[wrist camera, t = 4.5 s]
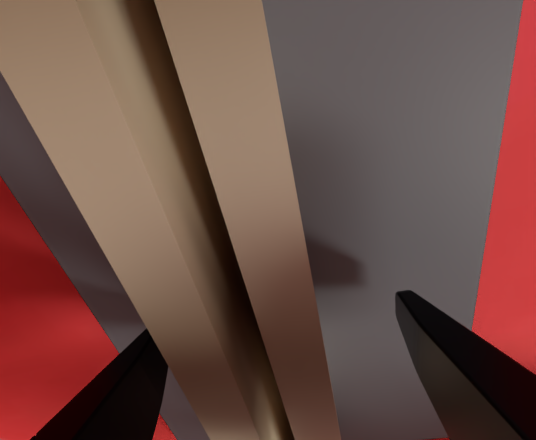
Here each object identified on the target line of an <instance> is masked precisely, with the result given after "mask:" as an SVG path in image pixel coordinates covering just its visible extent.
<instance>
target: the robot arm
mask: <svg viewBox="0 0 536 440" xmlns="http://www.w3.org/2000/svg"><path fill="white" fill-rule="evenodd" d="M395 313H396V318H397V321H398V324H399V327H400V329H401V332H402V335H403V338H404V340H405V343H406V346H407V348H408V351H409V354H410V357H411V359H412V362H413V365H414V367H415V370H416V372H417V374H418V376H419V379H420V381H421V383H422V385H423V387H424V389H425V391H426V393H427V395H428V397H429V399H430V401H431V403H432V405H433V407H434V409H435V411H436V413H437V415H438V417H439V419H440V421H441V423H442V425H443V427H444V429H445V431H446V433H447V435H448V437H449V439H450V440H536V375H535V374H534V373H532V372H531V371H529V370H528V369H526V368H525V367H524V366H522V365H521V364H519V363H518V362H516V361H515V360H513V359H512V358H510V357H509V356H507V355H506V354H504V353H503V352H502V351H500V350H499V349H497V348H496V347H494V346H493V345H491V344H490V343H488V342H487V341H485V340H484V339H482V338H481V337H480V336H478V335H477V334H475V333H474V332H472V331H471V330H469V329H468V328H466V327H465V326H463V325H462V324H460V323H459V322H458V321H456V320H455V319H453V318H452V317H450V316H449V315H447V314H446V313H444V312H443V311H441V310H440V309H438V308H437V307H436V306H434V305H433V304H431V303H430V302H428V301H427V300H425V299H424V298H422V297H421V296H419V295H418V294H416V293H415V292H414V291H412V290H403V291H397V292H396V294H395ZM167 372H168V364H167V363H166V361H165V359H164V357H163V356H162V354H161V352H160V350H159V349H158V347H157V345H156V343H155V342H154V340H153V338H152V336H151V335H150V333H149V331H148V329H147V328H146V329H145V330H144V331H143V332H142V333H141V334H140V335H139V336H138V337H137V338H136V339H135V340H134V341H133V342H131V343H130V344H129V345H128V346H127V347H126V348H125V349H124V350H123V351H122V352H121V353H120V354H119V355H118V356H117V357H116V358H115V359H114V360H113V361H112V362H111V363H110V364H109V365H107V366H106V367H105V368H104V369H103V370H102V371H101V372H100V373H99V374H98V375H97V376H96V377H95V378H94V379H93V380H92V381H91V382H90V383H89V384H88V385H87V386H86V387H84V388H83V389H82V390H81V391H80V392H79V393H78V394H77V395H76V396H75V397H74V398H73V399H72V400H71V401H70V402H69V403H68V404H67V405H66V406H65V407H64V408H63V409H61V410H60V411H59V412H58V413H57V414H56V415H55V416H54V417H53V418H52V419H51V420H50V421H49V422H48V423H47V424H46V425H45V426H44V427H43V428H42V429H41V430H40V431H38V433H37V434H36V436H33V437H32V438H31V439H30V440H152V439H153V435H154V431H155V427H156V424H157V420H158V416H159V412H160V409H161V405H162V400H163V395H164V390H165V384H166V378H167Z"/></svg>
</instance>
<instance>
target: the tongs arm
mask: <svg viewBox="0 0 536 440" xmlns="http://www.w3.org/2000/svg"><path fill="white" fill-rule="evenodd" d="M0 71H1V73H2V75H3V77H4V78H5V80H6V82H7V84H8V85H9V87H10V89H11V91H12V92H13V94H14V96H15V98H16V99H17V101H18V103H19V105H20V106H21V108H22V110H23V112H24V113H25V115H26V117H27V119H28V121H29V122H30V124H31V126H32V128H33V129H34V131H35V133H36V135H37V136H38V138H39V140H40V142H41V143H42V145H43V147H44V149H45V150H46V152H47V154H48V156H49V157H50V159H51V161H52V163H53V164H54V166H55V168H56V170H57V171H58V173H59V175H60V177H61V178H62V180H63V182H64V184H65V185H66V187H67V189H68V191H69V192H70V194H71V196H72V198H73V199H74V201H75V203H76V205H77V207H78V208H79V210H80V212H81V214H82V215H83V217H84V219H85V221H86V222H87V224H88V226H89V228H90V229H91V231H92V233H93V235H94V236H95V238H96V240H97V242H98V243H99V245H100V247H101V249H102V250H103V252H104V254H105V256H106V257H107V259H108V261H109V263H110V264H111V266H112V268H113V270H114V271H115V273H116V275H117V277H118V278H119V280H120V282H121V284H122V285H123V287H124V289H125V291H126V293H127V294H128V296H129V298H130V300H131V301H132V303H133V305H134V307H135V308H136V310H137V312H138V314H139V315H140V317H141V319H142V321H143V322H144V324H145V326H146V328H147V329H148V331H149V333H150V335H151V336H152V338H153V340H154V342H155V343H156V345H157V347H158V349H159V350H160V352H161V354H162V356H163V357H164V359H165V361H166V363H167V364H168V366H169V368H170V370H171V371H172V373H173V375H174V377H175V379H176V380H177V382H178V384H179V386H180V387H181V389H182V391H183V393H184V394H185V396H186V398H187V400H188V401H189V403H190V405H191V407H192V408H193V410H194V412H195V414H196V415H197V417H198V419H199V421H200V422H201V424H202V426H203V428H204V429H205V431H206V433H207V435H208V436H209V438H210V440H295V439H294V436H293V433H292V430H291V427H290V423H289V420H288V417H287V414H286V411H285V408H284V405H283V402H282V398H281V395H280V392H279V389H278V386H277V383H276V380H275V377H274V373H273V370H272V367H271V364H270V361H269V358H268V355H267V352H266V348H265V345H264V342H263V339H262V336H261V333H260V330H259V327H258V323H257V320H256V317H255V314H254V311H253V308H252V305H251V302H250V298H249V295H248V292H247V289H246V286H245V283H244V280H243V277H242V273H241V270H240V267H239V264H238V261H237V258H236V255H235V252H234V248H233V245H232V242H231V239H230V236H229V233H228V230H227V227H226V223H225V220H224V217H223V214H222V211H221V208H220V205H219V202H218V198H217V195H216V192H215V189H214V186H213V183H212V180H211V177H210V173H209V170H208V167H207V164H206V161H205V158H204V155H203V152H202V148H201V145H200V142H199V139H198V136H197V133H196V130H195V127H194V123H193V120H192V117H191V114H190V111H189V108H188V105H187V102H186V98H185V95H184V92H183V89H182V86H181V83H180V80H179V77H178V73H177V70H176V67H175V64H174V61H173V58H172V55H171V52H170V48H169V45H168V42H167V39H166V36H165V33H164V30H163V27H162V23H161V20H160V17H159V14H158V11H157V8H156V5H155V2H154V0H0Z"/></svg>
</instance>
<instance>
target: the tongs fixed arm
mask: <svg viewBox="0 0 536 440" xmlns="http://www.w3.org/2000/svg"><path fill="white" fill-rule="evenodd" d="M154 2H155V5H156V8H157V11H158V14H159V17H160V20H161V23H162V27H163V30H164V33H165V36H166V39H167V42H168V45H169V48H170V52H171V55H172V58H173V61H174V64H175V67H176V70H177V73H178V77H179V80H180V83H181V86H182V89H183V92H184V95H185V98H186V102H187V105H188V108H189V111H190V114H191V117H192V120H193V123H194V127H195V130H196V133H197V136H198V139H199V142H200V145H201V148H202V152H203V155H204V158H205V161H206V164H207V167H208V170H209V173H210V177H211V180H212V183H213V186H214V189H215V192H216V195H217V198H218V202H219V205H220V208H221V211H222V214H223V217H224V220H225V223H226V227H227V230H228V233H229V236H230V239H231V242H232V245H233V248H234V252H235V255H236V258H237V261H238V264H239V267H240V270H241V273H242V277H243V280H244V283H245V286H246V289H247V292H248V295H249V298H250V302H251V305H252V308H253V311H254V314H255V317H256V320H257V323H258V327H259V330H260V333H261V336H262V339H263V342H264V345H265V348H266V352H267V355H268V358H269V361H270V364H271V367H272V370H273V373H274V377H275V380H276V383H277V386H278V389H279V392H280V395H281V398H282V402H283V405H284V408H285V411H286V414H287V417H288V420H289V423H290V427H291V430H292V433H293V436H294V439H295V440H341V435H340V430H339V424H338V419H337V413H336V407H335V402H334V396H333V391H332V385H331V380H330V374H329V369H328V363H327V358H326V352H325V347H324V341H323V336H322V330H321V325H320V319H319V314H318V308H317V303H316V297H315V292H314V286H313V280H312V275H311V269H310V264H309V258H308V253H307V247H306V242H305V236H304V231H303V225H302V220H301V214H300V209H299V203H298V198H297V192H296V187H295V181H294V176H293V170H292V165H291V159H290V153H289V148H288V142H287V137H286V131H285V126H284V120H283V115H282V109H281V104H280V98H279V93H278V87H277V82H276V76H275V71H274V65H273V60H272V54H271V49H270V43H269V38H268V32H267V26H266V21H265V15H264V10H263V4H262V0H154Z"/></svg>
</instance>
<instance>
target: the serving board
mask: <svg viewBox="0 0 536 440" xmlns="http://www.w3.org/2000/svg"><path fill="white" fill-rule="evenodd" d="M262 4H263V10H264V15H265V21H266V26H267V32H268V38H269V43H270V49H271V54H272V60H273V65H274V71H275V76H276V82H277V87H278V93H279V98H280V104H281V109H282V115H283V120H284V126H285V131H286V137H287V142H288V148H289V153H290V159H291V165H292V170H293V176H294V181H295V187H296V192H297V198H298V203H299V209H300V214H301V220H302V225H303V231H304V236H305V242H306V247H307V253H308V258H309V264H310V269H311V275H312V280H313V286H314V292H315V297H316V303H317V308H318V314H319V319H320V325H321V330H322V336H323V341H324V347H325V352H326V358H327V363H328V369H329V374H330V380H331V385H332V391H333V396H334V402H335V407H336V413H337V419H338V424H339V430H340V435H341V440H424V439H435V438H447V437H448V435H447V433H446V431H445V429H444V427H443V425H442V423H441V421H440V419H439V417H438V415H437V413H436V411H435V409H434V407H433V405H432V403H431V401H430V399H429V397H428V395H427V393H426V391H425V389H424V387H423V385H422V383H421V381H420V379H419V376H418V374H417V372H416V370H415V367H414V365H413V362H412V359H411V357H410V354H409V351H408V348H407V346H406V343H405V340H404V338H403V335H402V332H401V329H400V327H399V324H398V321H397V318H396V313H395V294H396V292H397V291H403V290H412V291H414V292H415V293H416V294H418V295H419V296H421V297H422V298H424V299H425V300H427V301H428V302H430V303H431V304H433V305H434V306H436V307H437V308H438V309H440V310H441V311H443V312H444V313H446V314H447V315H449V316H450V317H452V318H453V319H455V320H456V321H458V322H459V323H460V324H462V325H463V326H465V327H466V328H468V329H469V330H471V331H472V324H473V318H474V311H475V305H476V299H477V292H478V286H479V279H480V273H481V267H482V260H483V254H484V247H485V241H486V234H487V228H488V222H489V215H490V209H491V202H492V196H493V190H494V183H495V177H496V170H497V164H498V158H499V151H500V145H501V138H502V132H503V126H504V119H505V113H506V106H507V100H508V93H509V87H510V81H511V74H512V68H513V61H514V55H515V49H516V42H517V36H518V29H519V23H520V17H521V10H522V4H523V0H262ZM0 176H1V177H2V179H3V180H4V182H5V183H6V185H7V186H8V188H9V189H10V191H11V192H12V194H13V195H14V197H15V198H16V200H17V201H18V203H19V204H20V206H21V207H22V209H23V210H24V212H25V213H26V215H27V216H28V218H29V219H30V221H31V222H32V224H33V225H34V227H35V228H36V230H37V231H38V233H39V234H40V236H41V237H42V239H43V240H44V242H45V243H46V244H47V246H48V247H49V249H50V250H51V252H52V253H53V255H54V256H55V258H56V259H57V261H58V262H59V264H60V265H61V267H62V268H63V270H64V271H65V273H66V274H67V276H68V277H69V279H70V280H71V282H72V283H73V285H74V286H75V288H76V289H77V291H78V292H79V294H80V295H81V297H82V298H83V300H84V301H85V303H86V304H87V306H88V307H89V309H90V310H91V312H92V313H93V315H94V316H95V318H96V319H97V321H98V322H99V324H100V325H101V327H102V328H103V330H104V331H105V333H106V334H107V336H108V337H109V339H110V340H111V342H112V343H113V345H114V346H115V347H116V349H117V350H118V352H119V353H121V352H122V351H123V350H124V349H125V348H126V347H127V346H128V345H129V344H130V343H131V342H133V341H134V340H135V339H136V338H137V337H138V336H139V335H140V334H141V333H142V332H143V331H144V330H145V329H146V326H145V324H144V322H143V321H142V319H141V317H140V315H139V314H138V312H137V310H136V308H135V307H134V305H133V303H132V301H131V300H130V298H129V296H128V294H127V293H126V291H125V289H124V287H123V285H122V284H121V282H120V280H119V278H118V277H117V275H116V273H115V271H114V270H113V268H112V266H111V264H110V263H109V261H108V259H107V257H106V256H105V254H104V252H103V250H102V249H101V247H100V245H99V243H98V242H97V240H96V238H95V236H94V235H93V233H92V231H91V229H90V228H89V226H88V224H87V222H86V221H85V219H84V217H83V215H82V214H81V212H80V210H79V208H78V207H77V205H76V203H75V201H74V199H73V198H72V196H71V194H70V192H69V191H68V189H67V187H66V185H65V184H64V182H63V180H62V178H61V177H60V175H59V173H58V171H57V170H56V168H55V166H54V164H53V163H52V161H51V159H50V157H49V156H48V154H47V152H46V150H45V149H44V147H43V145H42V143H41V142H40V140H39V138H38V136H37V135H36V133H35V131H34V129H33V128H32V126H31V124H30V122H29V121H28V119H27V117H26V115H25V113H24V112H23V110H22V108H21V106H20V105H19V103H18V101H17V99H16V98H15V96H14V94H13V92H12V91H11V89H10V87H9V85H8V84H7V82H6V80H5V78H4V77H3V75H2V73H1V71H0ZM159 413H160V415H161V416H162V418H163V419H164V421H165V422H166V424H167V425H168V427H169V428H170V430H171V431H172V433H173V434H174V436H175V437H176V439H177V440H210V438H209V436H208V435H207V433H206V431H205V429H204V428H203V426H202V424H201V422H200V421H199V419H198V417H197V415H196V414H195V412H194V410H193V408H192V407H191V405H190V403H189V401H188V400H187V398H186V396H185V394H184V393H183V391H182V389H181V387H180V386H179V384H178V382H177V380H176V379H175V377H174V375H173V373H172V371H171V370H170V368H169V366H168V372H167V378H166V384H165V390H164V395H163V400H162V405H161V409H160V412H159Z"/></svg>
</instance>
